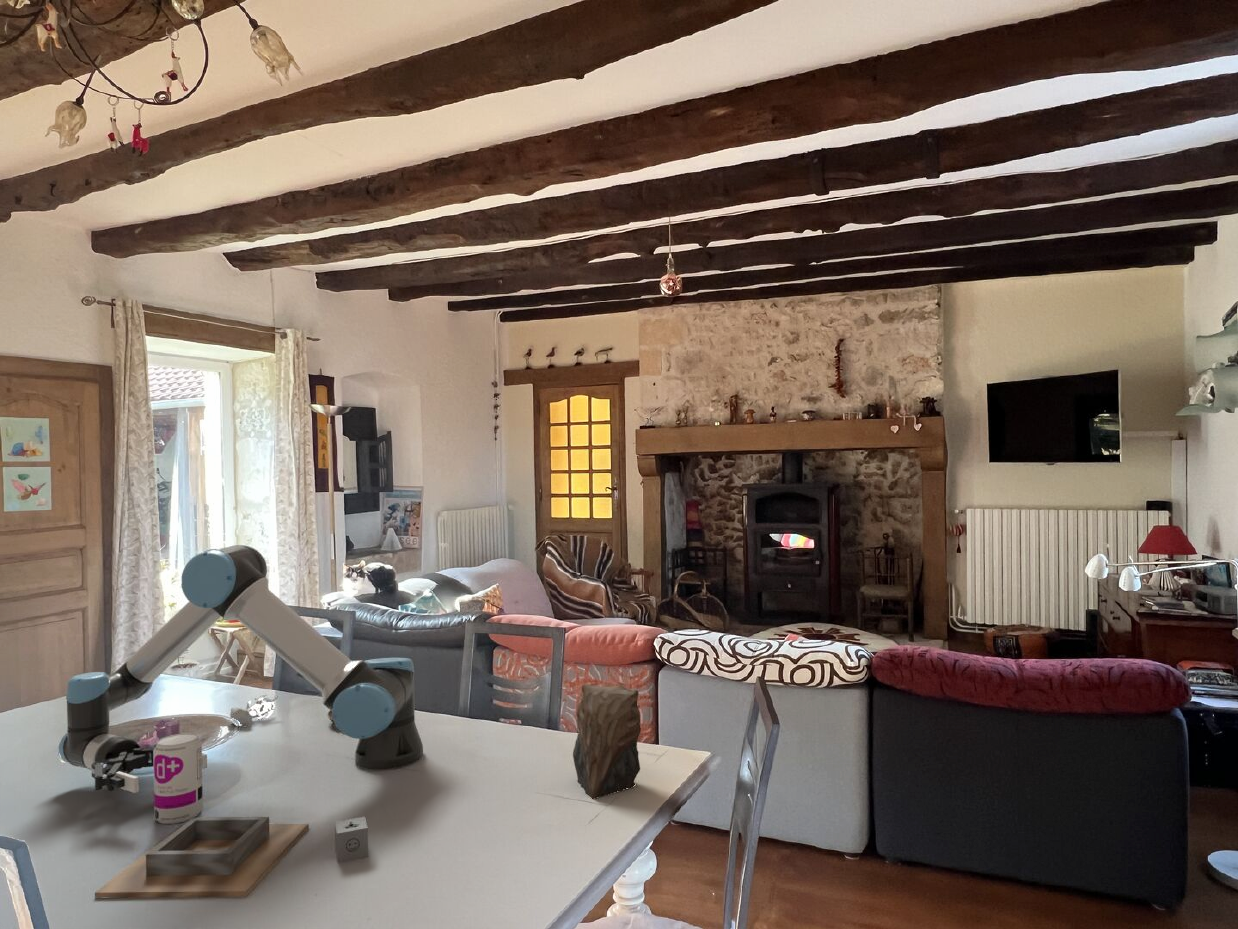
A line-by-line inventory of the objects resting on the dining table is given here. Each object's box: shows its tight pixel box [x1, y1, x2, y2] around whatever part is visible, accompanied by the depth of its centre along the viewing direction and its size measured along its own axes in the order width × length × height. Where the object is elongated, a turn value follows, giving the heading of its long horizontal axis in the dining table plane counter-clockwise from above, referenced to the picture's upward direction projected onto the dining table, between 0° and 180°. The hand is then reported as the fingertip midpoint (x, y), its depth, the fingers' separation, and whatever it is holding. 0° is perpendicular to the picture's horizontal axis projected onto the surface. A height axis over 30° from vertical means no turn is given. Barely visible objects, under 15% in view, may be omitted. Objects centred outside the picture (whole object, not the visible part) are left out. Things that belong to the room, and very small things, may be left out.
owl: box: [572, 683, 642, 800], centre depth 167 cm, size 13×13×20 cm
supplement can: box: [153, 732, 204, 825], centre depth 156 cm, size 8×8×15 cm
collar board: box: [94, 816, 310, 899], centre depth 137 cm, size 24×24×5 cm
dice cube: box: [334, 816, 369, 864], centre depth 139 cm, size 5×5×5 cm
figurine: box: [230, 694, 279, 727], centre depth 216 cm, size 9×6×12 cm
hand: (172, 773), depth 156 cm, fingers open, 13 cm apart
